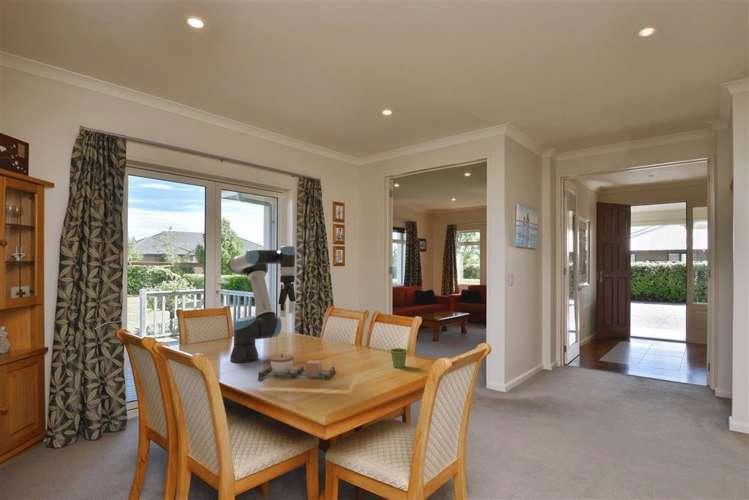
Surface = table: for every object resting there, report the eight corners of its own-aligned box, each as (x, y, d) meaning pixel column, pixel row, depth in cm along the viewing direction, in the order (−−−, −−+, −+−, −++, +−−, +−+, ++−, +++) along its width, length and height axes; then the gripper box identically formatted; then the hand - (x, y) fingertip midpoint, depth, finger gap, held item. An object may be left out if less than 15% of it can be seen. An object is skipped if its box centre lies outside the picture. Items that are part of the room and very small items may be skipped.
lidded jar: (266, 375, 194) (266, 355, 194) (276, 369, 204) (276, 350, 204) (287, 377, 192) (287, 356, 192) (296, 370, 202) (296, 351, 202)
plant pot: (392, 369, 211) (392, 352, 211) (388, 364, 220) (388, 348, 220) (409, 368, 213) (409, 351, 213) (404, 364, 222) (404, 347, 222)
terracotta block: (309, 372, 199) (309, 360, 199) (321, 372, 199) (321, 360, 199) (305, 376, 193) (305, 363, 193) (318, 376, 193) (318, 363, 193)
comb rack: (270, 371, 206) (270, 364, 206) (334, 373, 202) (334, 366, 202) (258, 380, 191) (258, 372, 191) (327, 383, 187) (327, 375, 188)
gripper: (288, 274, 232) (288, 311, 232) (272, 275, 207) (271, 318, 207) (301, 274, 231) (301, 312, 231) (286, 276, 206) (286, 318, 206)
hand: (287, 315), depth 219 cm, fingers open, 13 cm apart
